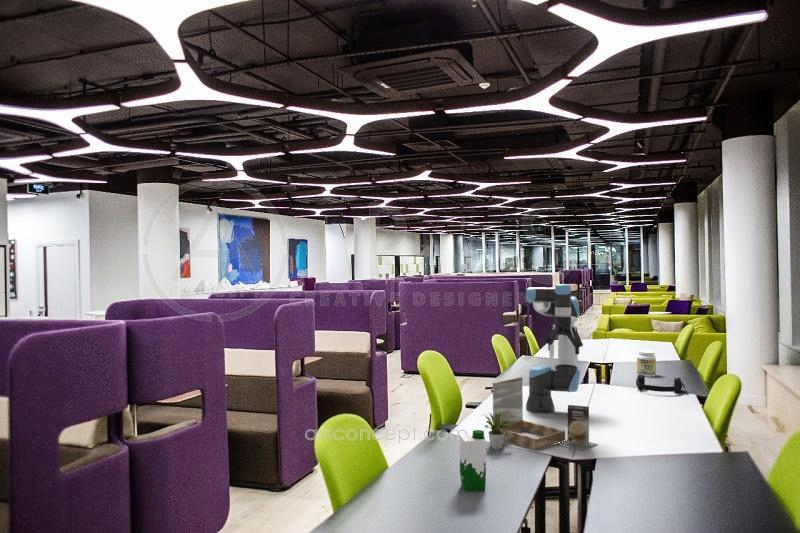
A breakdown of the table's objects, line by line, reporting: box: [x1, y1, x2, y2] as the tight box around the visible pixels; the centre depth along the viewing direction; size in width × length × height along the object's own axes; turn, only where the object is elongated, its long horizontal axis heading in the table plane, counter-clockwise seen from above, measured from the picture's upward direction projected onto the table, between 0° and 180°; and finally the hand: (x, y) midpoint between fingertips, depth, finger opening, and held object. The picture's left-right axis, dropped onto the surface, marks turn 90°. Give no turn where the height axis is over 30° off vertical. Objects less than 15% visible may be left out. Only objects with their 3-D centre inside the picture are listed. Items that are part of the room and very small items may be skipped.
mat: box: [557, 439, 598, 452], centre depth 254 cm, size 12×12×1 cm
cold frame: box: [492, 376, 566, 451], centre depth 263 cm, size 25×20×25 cm
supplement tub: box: [636, 350, 657, 378], centre depth 407 cm, size 12×12×17 cm
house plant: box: [482, 410, 514, 450], centre depth 251 cm, size 14×14×16 cm
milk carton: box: [459, 429, 487, 493], centre depth 206 cm, size 9×9×20 cm
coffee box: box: [566, 404, 590, 447], centre depth 253 cm, size 9×6×16 cm
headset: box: [635, 374, 686, 394], centre depth 359 cm, size 28×26×9 cm
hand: (563, 359), depth 282 cm, fingers open, 13 cm apart
